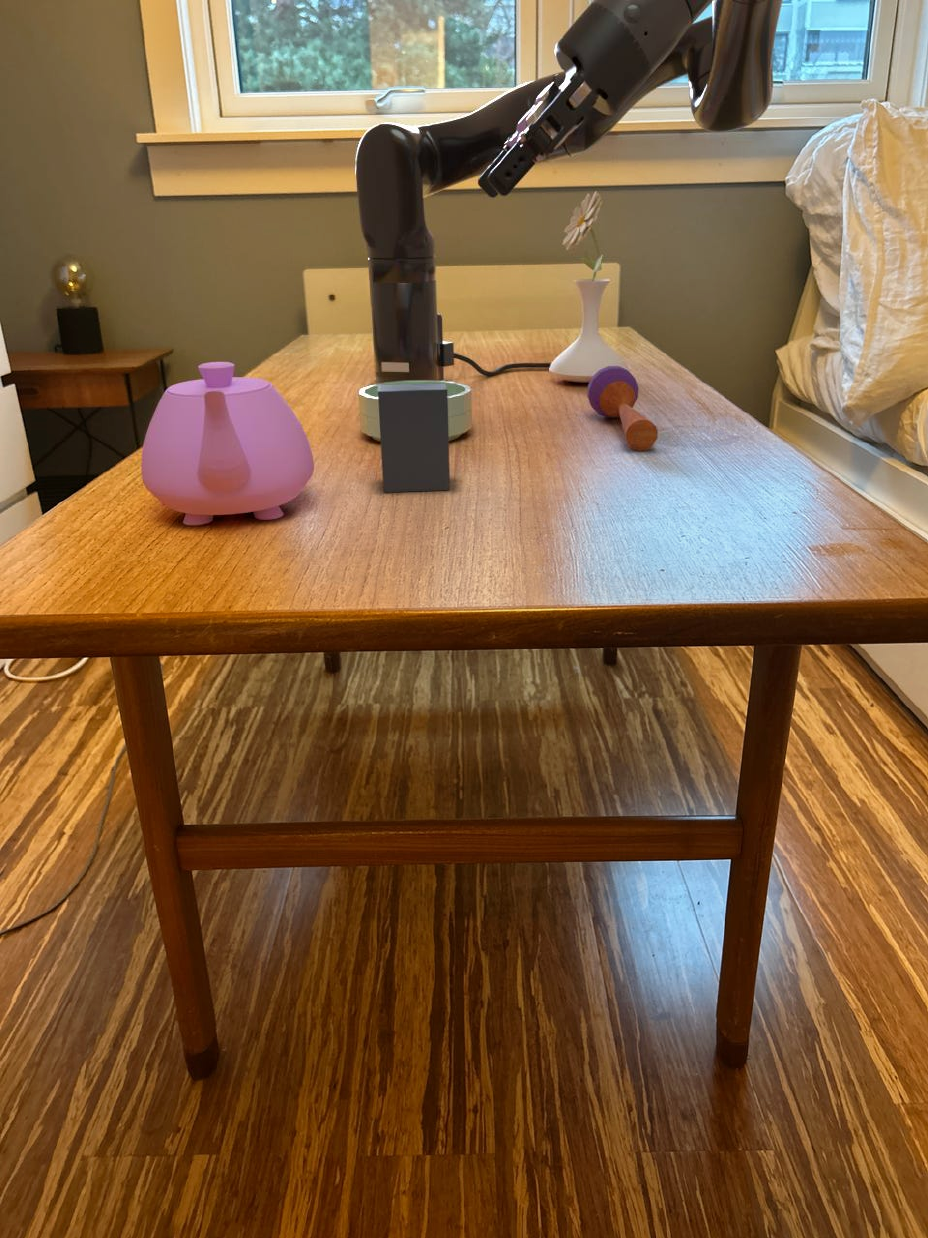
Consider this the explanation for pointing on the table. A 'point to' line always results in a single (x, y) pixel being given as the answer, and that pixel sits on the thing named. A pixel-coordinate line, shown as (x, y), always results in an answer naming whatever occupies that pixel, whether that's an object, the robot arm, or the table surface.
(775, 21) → the robot arm
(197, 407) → the teapot
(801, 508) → the table surface
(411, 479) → the dark gray rectangular block
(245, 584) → the table surface
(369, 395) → the bowl
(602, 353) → the flower in vase
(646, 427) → the kendama
